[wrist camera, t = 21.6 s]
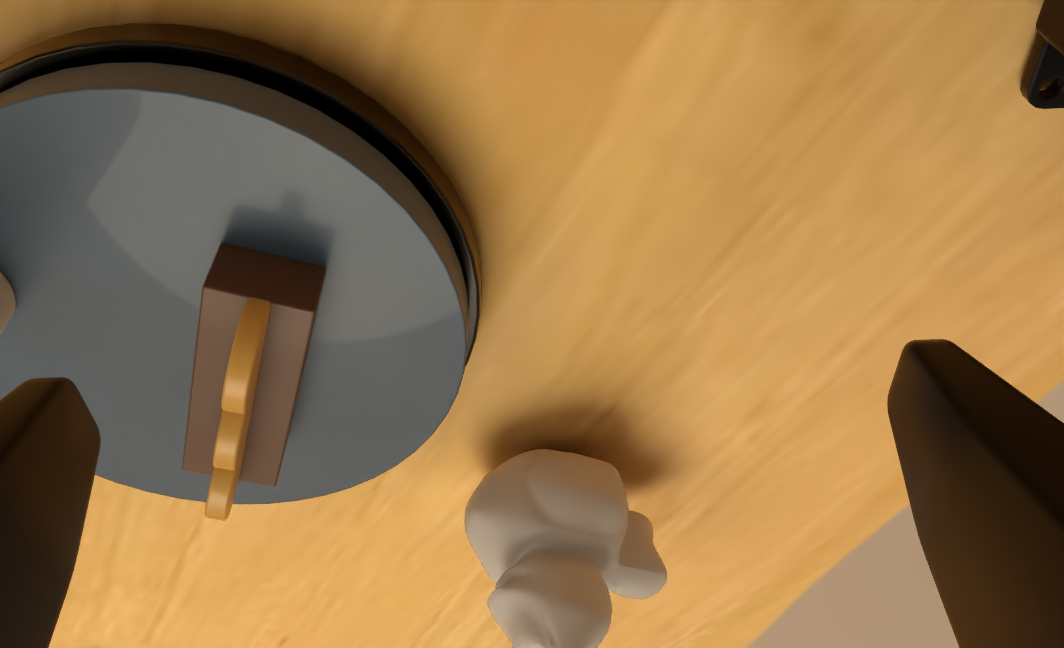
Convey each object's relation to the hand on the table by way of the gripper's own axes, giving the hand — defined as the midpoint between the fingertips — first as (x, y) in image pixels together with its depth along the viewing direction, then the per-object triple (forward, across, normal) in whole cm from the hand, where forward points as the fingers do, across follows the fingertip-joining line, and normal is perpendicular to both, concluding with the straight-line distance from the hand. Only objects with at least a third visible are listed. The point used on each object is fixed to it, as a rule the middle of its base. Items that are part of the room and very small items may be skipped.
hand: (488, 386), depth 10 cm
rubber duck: (+12, -1, +17) cm, 21 cm away
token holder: (+11, +8, +8) cm, 15 cm away
